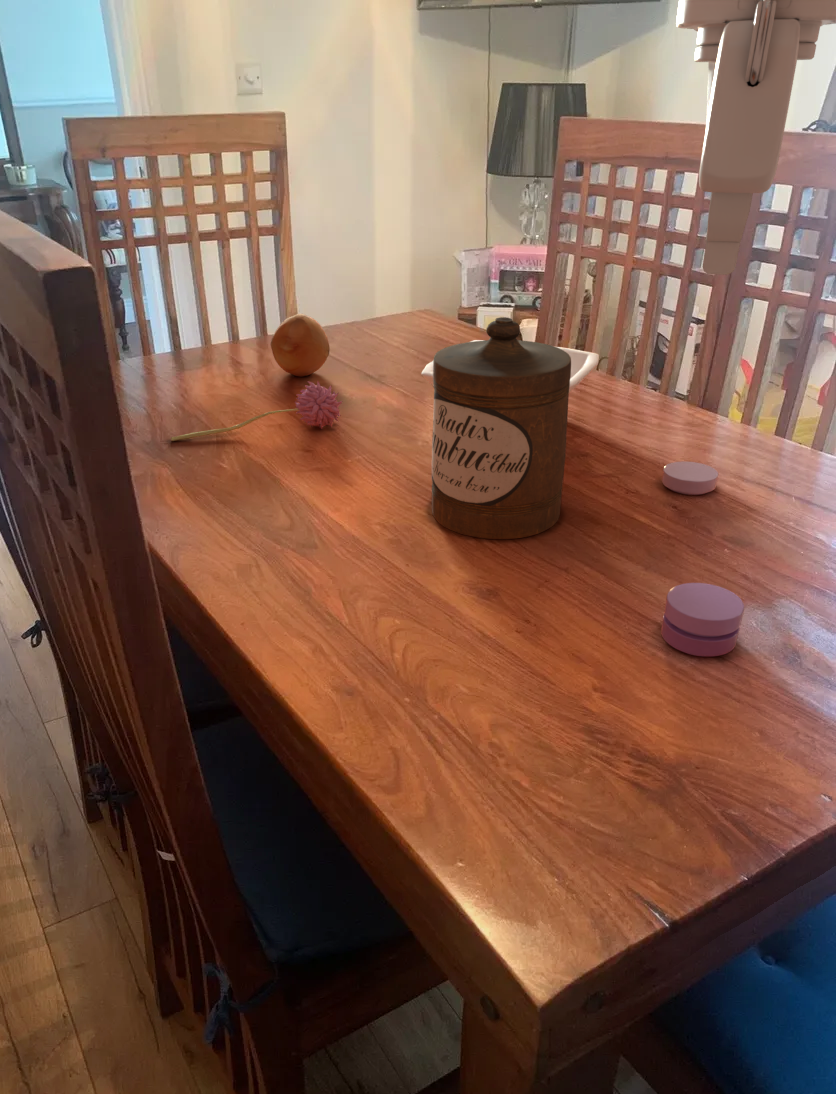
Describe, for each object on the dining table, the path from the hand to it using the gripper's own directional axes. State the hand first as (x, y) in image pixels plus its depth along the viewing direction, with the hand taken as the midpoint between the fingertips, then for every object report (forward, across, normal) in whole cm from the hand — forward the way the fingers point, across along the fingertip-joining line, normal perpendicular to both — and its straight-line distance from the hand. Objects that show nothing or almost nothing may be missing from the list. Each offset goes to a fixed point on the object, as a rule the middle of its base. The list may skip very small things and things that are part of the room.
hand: (718, 258), depth 54 cm
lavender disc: (+31, +9, -4) cm, 33 cm away
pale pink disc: (+33, +44, -2) cm, 55 cm away
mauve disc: (+33, +8, -4) cm, 35 cm away
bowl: (+34, +62, +24) cm, 74 cm away
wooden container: (+34, +30, +19) cm, 49 cm away
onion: (+34, +75, +63) cm, 103 cm away
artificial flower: (+34, +46, +57) cm, 80 cm away
